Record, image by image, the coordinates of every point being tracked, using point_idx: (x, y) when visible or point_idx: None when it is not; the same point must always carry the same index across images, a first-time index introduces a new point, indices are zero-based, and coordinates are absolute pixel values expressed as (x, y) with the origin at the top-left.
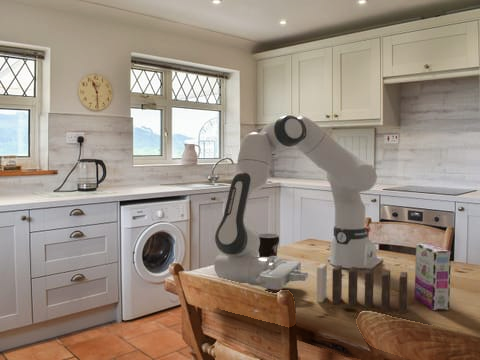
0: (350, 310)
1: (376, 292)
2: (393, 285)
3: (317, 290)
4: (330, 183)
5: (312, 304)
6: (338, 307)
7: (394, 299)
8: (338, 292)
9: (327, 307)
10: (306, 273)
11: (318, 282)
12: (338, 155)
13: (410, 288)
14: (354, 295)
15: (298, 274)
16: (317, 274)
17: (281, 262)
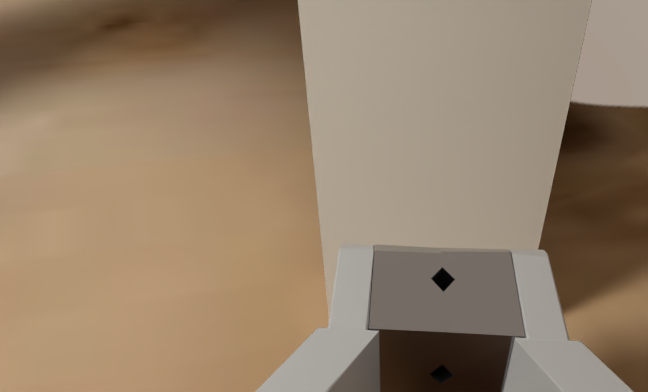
0: (569, 125)
1: (156, 75)
2: (22, 42)
3: (537, 239)
4: None
5: (637, 359)
6: (560, 180)
7: (267, 25)
8: None
9: (618, 237)
10: (389, 248)
11: (552, 145)
12: None
13: (81, 6)
14: None
15: (582, 357)
16: (580, 47)
17: None
